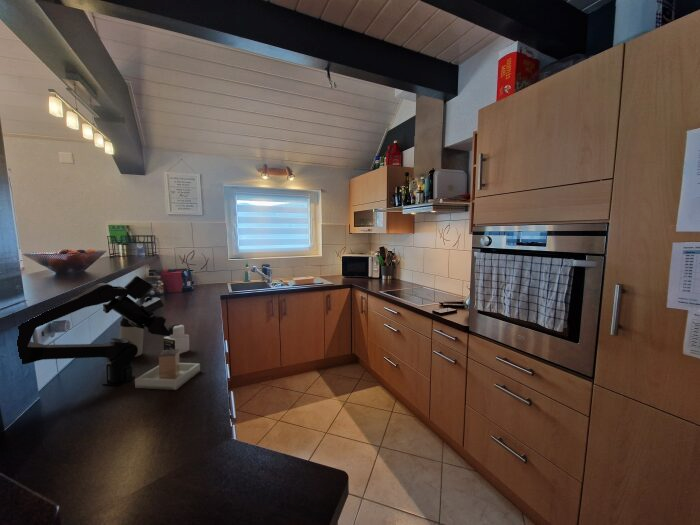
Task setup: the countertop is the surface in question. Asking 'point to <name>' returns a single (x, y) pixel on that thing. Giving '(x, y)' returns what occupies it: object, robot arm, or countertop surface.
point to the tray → (154, 382)
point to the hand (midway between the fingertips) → (164, 332)
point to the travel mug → (132, 334)
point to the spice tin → (169, 364)
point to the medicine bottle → (177, 339)
